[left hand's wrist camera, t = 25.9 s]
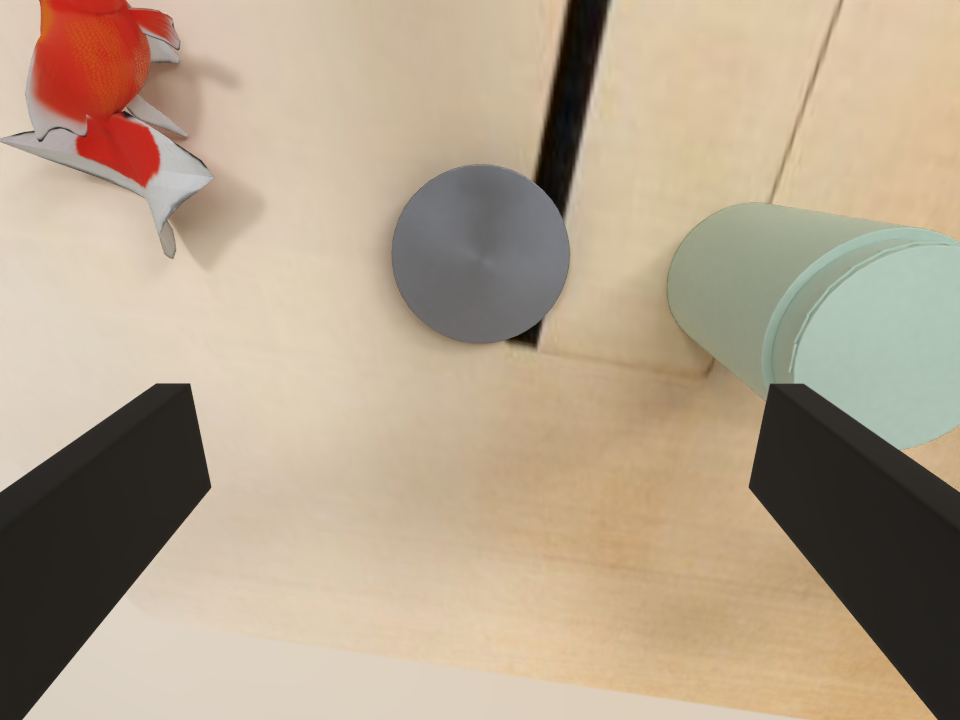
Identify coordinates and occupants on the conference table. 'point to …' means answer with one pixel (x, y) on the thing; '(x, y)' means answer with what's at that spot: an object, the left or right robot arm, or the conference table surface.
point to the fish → (108, 103)
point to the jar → (829, 312)
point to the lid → (480, 254)
